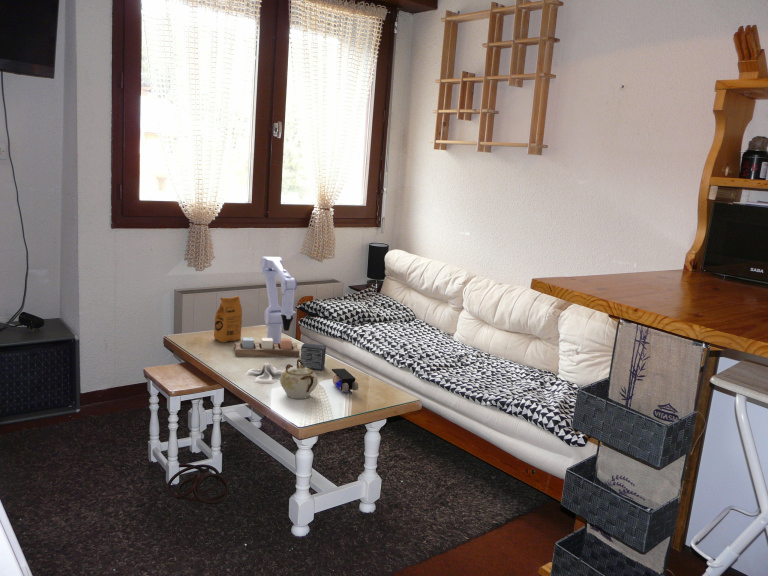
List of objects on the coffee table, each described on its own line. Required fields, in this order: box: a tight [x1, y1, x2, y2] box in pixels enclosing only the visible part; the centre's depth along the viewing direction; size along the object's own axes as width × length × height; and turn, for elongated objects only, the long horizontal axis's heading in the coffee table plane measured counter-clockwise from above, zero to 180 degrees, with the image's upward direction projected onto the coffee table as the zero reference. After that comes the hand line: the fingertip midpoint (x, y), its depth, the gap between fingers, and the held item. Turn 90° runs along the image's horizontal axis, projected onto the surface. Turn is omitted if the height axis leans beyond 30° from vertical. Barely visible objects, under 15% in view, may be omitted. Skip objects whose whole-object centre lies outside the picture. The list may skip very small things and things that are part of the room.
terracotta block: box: [280, 337, 293, 349], centre depth 315 cm, size 5×5×4 cm
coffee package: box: [213, 295, 243, 343], centre depth 327 cm, size 10×12×22 cm
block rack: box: [233, 341, 301, 358], centre depth 313 cm, size 12×30×3 cm, turn 105°
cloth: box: [245, 362, 285, 384], centre depth 282 cm, size 22×19×6 cm
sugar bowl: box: [279, 358, 319, 400], centre depth 260 cm, size 20×15×15 cm
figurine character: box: [331, 368, 359, 396], centre depth 272 cm, size 7×8×15 cm
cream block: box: [260, 337, 273, 349], centre depth 313 cm, size 5×5×4 cm
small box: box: [299, 342, 327, 372], centre depth 297 cm, size 11×6×10 cm, turn 84°
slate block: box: [242, 336, 255, 349], centre depth 310 cm, size 5×5×4 cm
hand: (286, 329), depth 318 cm, fingers closed
